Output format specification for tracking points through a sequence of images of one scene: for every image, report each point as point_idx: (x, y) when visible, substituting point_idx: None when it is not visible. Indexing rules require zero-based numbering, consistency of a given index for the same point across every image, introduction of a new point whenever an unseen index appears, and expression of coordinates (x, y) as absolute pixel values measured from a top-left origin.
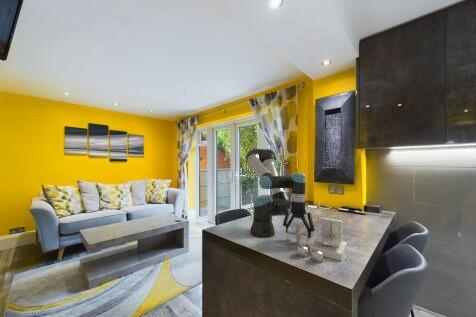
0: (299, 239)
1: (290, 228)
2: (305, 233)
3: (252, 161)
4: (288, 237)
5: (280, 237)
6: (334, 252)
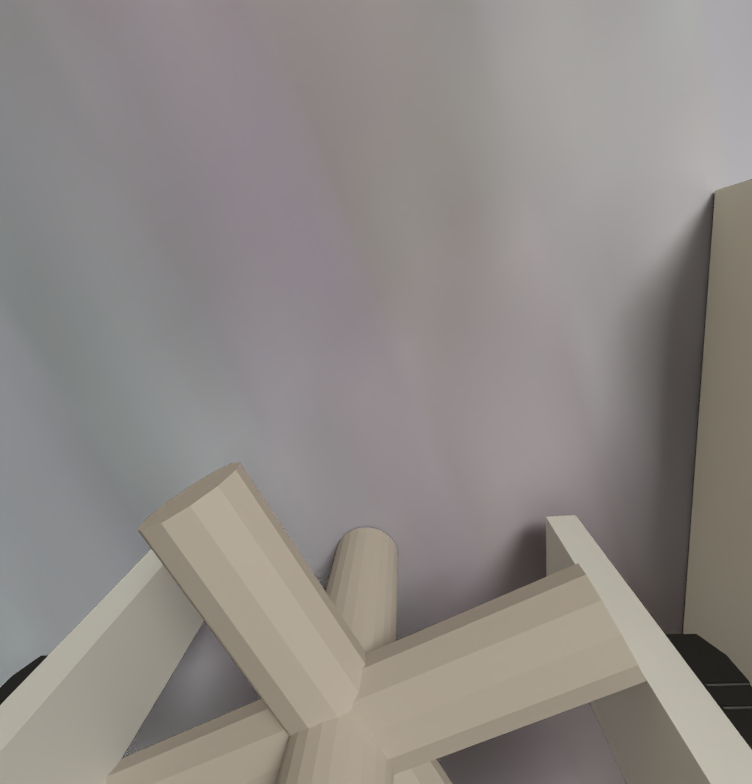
0: (395, 607)
1: (8, 756)
2: (572, 708)
3: None
4: (176, 657)
5: (6, 531)
6: None
